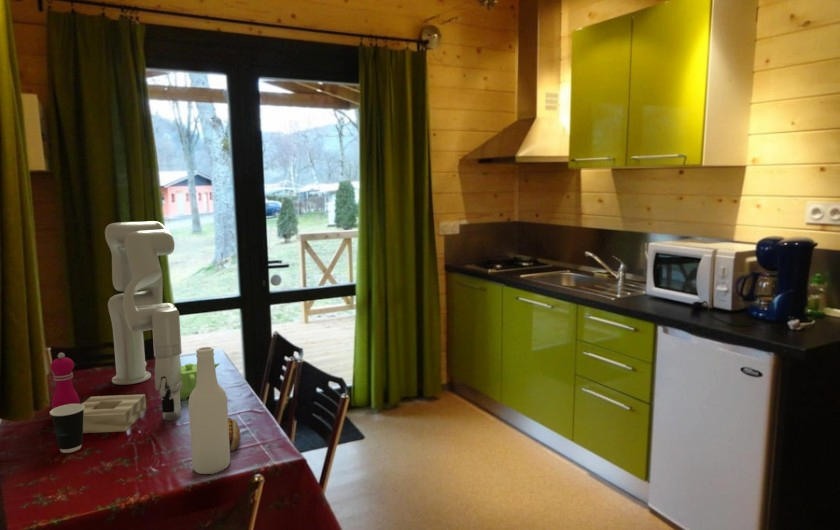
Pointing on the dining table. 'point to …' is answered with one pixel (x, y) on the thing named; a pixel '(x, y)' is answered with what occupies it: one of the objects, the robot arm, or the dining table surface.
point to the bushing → (177, 404)
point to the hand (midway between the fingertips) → (171, 407)
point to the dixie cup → (68, 426)
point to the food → (233, 433)
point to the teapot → (189, 379)
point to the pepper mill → (63, 382)
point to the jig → (112, 412)
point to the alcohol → (208, 418)
